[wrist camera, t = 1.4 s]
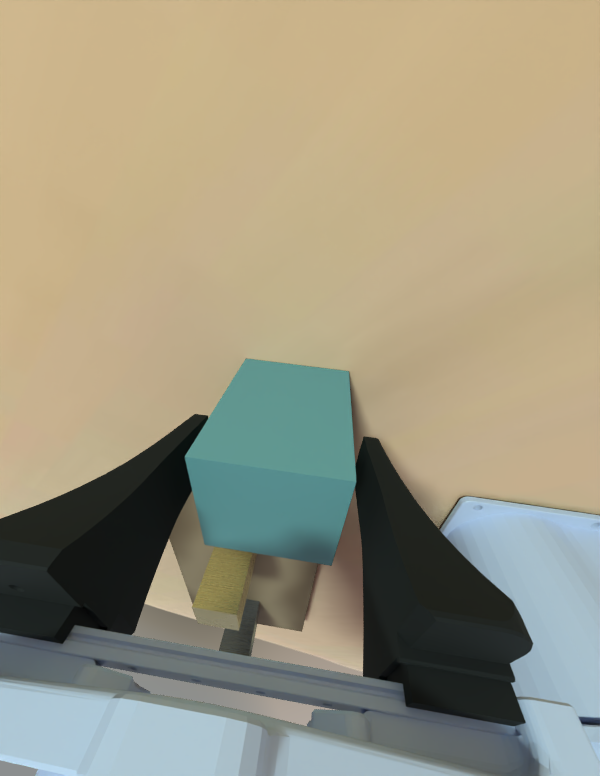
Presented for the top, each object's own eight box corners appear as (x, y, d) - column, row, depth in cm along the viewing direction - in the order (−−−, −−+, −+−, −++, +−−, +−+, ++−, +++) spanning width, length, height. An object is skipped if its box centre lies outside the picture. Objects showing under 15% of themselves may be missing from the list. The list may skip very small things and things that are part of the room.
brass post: (258, 528, 19) (236, 615, 15) (258, 547, 21) (238, 630, 17) (222, 523, 20) (192, 607, 15) (225, 541, 21) (197, 623, 17)
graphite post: (259, 601, 27) (244, 673, 22) (259, 611, 28) (245, 680, 24) (233, 596, 27) (214, 667, 23) (234, 607, 28) (217, 675, 24)
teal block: (348, 371, 13) (356, 481, 8) (333, 446, 16) (331, 565, 11) (245, 358, 14) (184, 456, 8) (248, 434, 17) (204, 544, 11)
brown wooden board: (331, 488, 18) (330, 508, 17) (303, 614, 31) (301, 631, 30) (161, 462, 19) (148, 480, 18) (201, 596, 32) (195, 612, 31)
